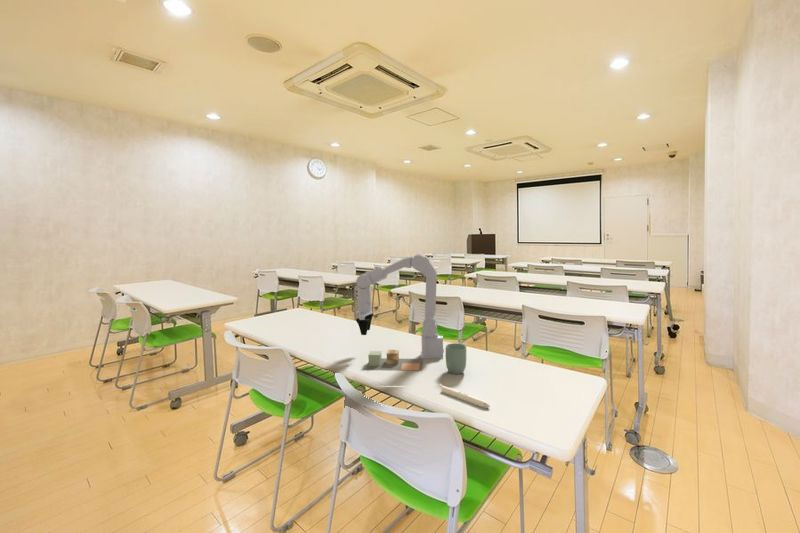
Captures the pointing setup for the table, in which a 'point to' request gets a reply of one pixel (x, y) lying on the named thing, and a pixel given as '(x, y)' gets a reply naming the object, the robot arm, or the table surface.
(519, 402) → the table surface
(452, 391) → the marker
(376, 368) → the mat
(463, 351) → the cup
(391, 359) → the maple block
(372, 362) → the sage block
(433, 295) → the robot arm
